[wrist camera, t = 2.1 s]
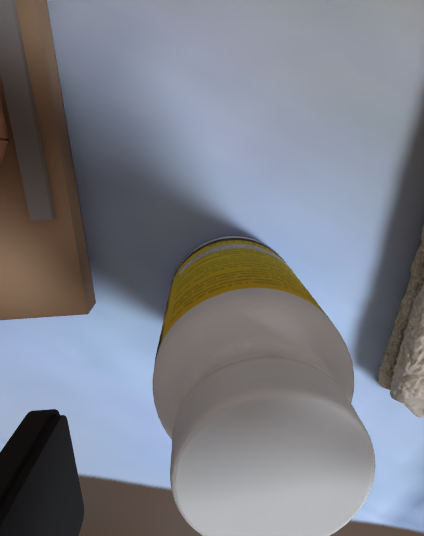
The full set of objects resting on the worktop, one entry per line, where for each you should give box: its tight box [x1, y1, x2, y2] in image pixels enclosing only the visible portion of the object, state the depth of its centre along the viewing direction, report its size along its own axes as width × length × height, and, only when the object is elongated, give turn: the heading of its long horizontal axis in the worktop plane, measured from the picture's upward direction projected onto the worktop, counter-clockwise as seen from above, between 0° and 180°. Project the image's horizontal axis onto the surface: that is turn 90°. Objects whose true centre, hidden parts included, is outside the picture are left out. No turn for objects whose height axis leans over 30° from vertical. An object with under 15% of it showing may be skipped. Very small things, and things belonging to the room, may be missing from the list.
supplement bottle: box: [153, 236, 375, 536], centre depth 12 cm, size 5×5×10 cm
